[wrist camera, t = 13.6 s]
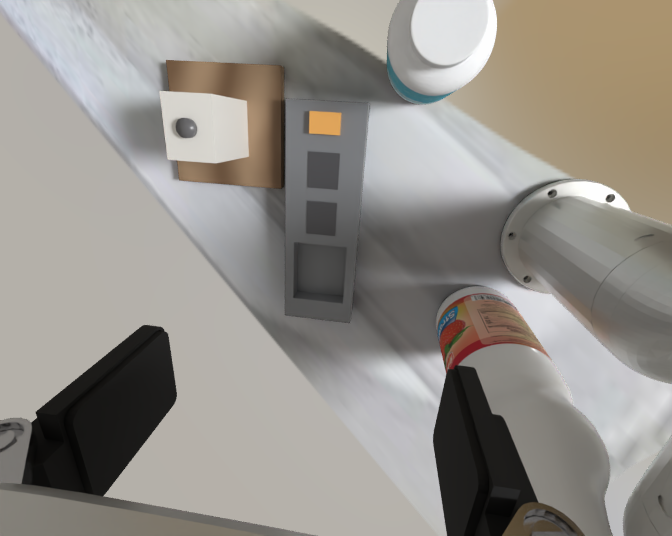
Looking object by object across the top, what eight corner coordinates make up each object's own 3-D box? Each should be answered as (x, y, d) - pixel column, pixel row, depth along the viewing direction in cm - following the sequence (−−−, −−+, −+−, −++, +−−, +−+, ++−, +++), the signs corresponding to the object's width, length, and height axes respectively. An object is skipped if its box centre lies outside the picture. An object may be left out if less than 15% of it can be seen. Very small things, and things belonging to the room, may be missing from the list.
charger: (246, 100, 36) (207, 93, 28) (248, 156, 38) (212, 164, 30) (205, 98, 36) (154, 90, 28) (209, 153, 38) (163, 160, 30)
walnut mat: (284, 67, 35) (280, 65, 34) (283, 187, 40) (280, 188, 39) (172, 62, 37) (166, 60, 35) (184, 178, 41) (179, 180, 40)
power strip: (369, 105, 36) (368, 102, 32) (351, 311, 45) (349, 325, 41) (293, 100, 36) (284, 97, 33) (291, 303, 45) (283, 317, 42)
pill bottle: (453, 110, 35) (491, 99, 22) (380, 99, 35) (377, 83, 23) (475, 21, 32) (532, -48, 19) (395, 11, 32) (401, -63, 20)
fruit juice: (520, 342, 43) (711, 665, 18) (443, 356, 45) (512, 658, 20) (509, 275, 40) (722, 548, 14) (427, 293, 42) (484, 556, 17)
